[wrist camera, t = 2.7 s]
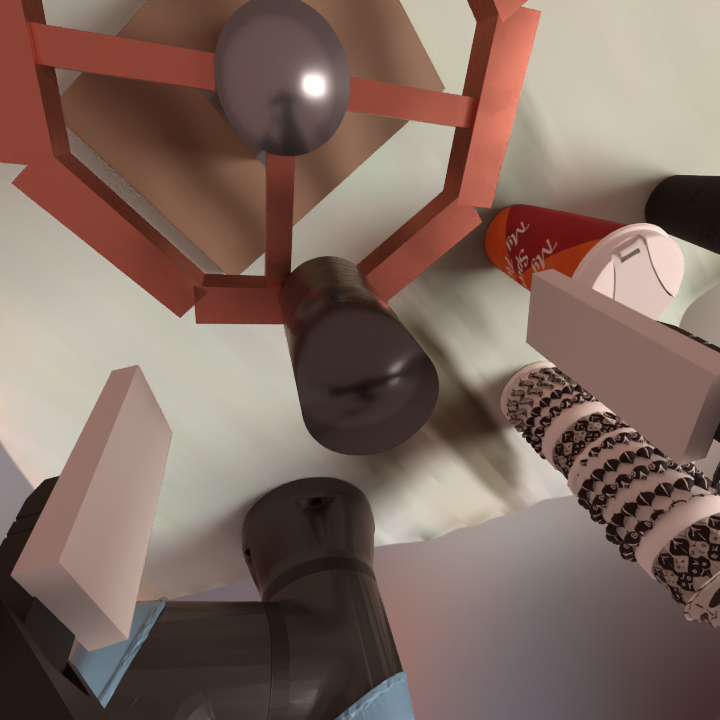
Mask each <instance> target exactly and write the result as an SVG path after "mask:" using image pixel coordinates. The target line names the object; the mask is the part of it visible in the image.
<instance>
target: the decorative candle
mask: <svg viewBox="0 0 720 720" xmlns="http://www.w3.org/2000/svg"><path fill="white" fill-rule="evenodd" d="M500 404H501V411H502V412H503V414H504V415H505V416H506V418H507V419H508V420H509V422H510V423H514V424H515V428H516V429H517V431H518V432H524V433H523V434H522V437H523V438H526V441H527V442H528V443H530V444H531V446H532V448H534V449H535V451H536V453H538V454H540V457H541V458H542V459H547V460H548V462H549V463H550V464H551V465H552V466H553V467H554V468H555V469H556V470H559V471H560V472H561V473H562V474H563V475H564V477H565V478H566V479H567V480H568V487H569V488H570V490H571V491H572V493H573V494H574V495H575V496H576V497H578V498H579V500H578V503H579V504H580V505H581V506H583V507H584V508H585V509H587V510H589V512H590V514H591V519H592V520H593V521H594V522H598V523H599V524H608V526H607V527H606V533H607V534H606V538H607V540H609V541H610V542H612V543H614V544H616V545H620V544H621V545H620V547H619V550H620V552H621V556H622V558H623V559H625V560H629V561H632V562H638V563H639V564H640V565H641V566H642V567H643V568H644V570H645V571H646V572H647V573H648V574H649V575H650V576H651V578H652V579H655V580H657V581H658V582H660V583H661V584H662V585H663V586H664V587H665V589H666V591H667V592H668V593H669V594H670V595H671V596H672V597H673V598H674V599H675V601H677V602H678V603H679V604H680V605H681V606H682V607H683V609H684V615H685V617H686V619H687V620H690V621H696V622H698V621H703V622H705V623H707V624H709V625H711V626H713V627H716V628H719V629H720V482H718V483H716V482H713V481H711V480H710V479H708V478H706V477H704V474H703V472H702V471H700V470H698V469H696V467H695V465H694V464H692V463H687V464H684V465H681V466H679V465H677V464H676V463H675V462H674V461H672V460H670V459H669V458H668V457H667V456H666V455H665V454H664V453H663V452H661V451H660V450H659V449H658V448H656V447H655V446H654V445H653V444H651V443H650V442H649V441H648V440H646V439H645V438H644V437H643V436H642V435H640V434H639V433H638V432H637V431H635V430H634V429H633V428H632V427H630V426H629V425H628V424H627V423H625V422H624V421H623V420H622V419H620V418H619V417H618V416H617V415H616V414H614V413H613V412H612V411H611V410H609V409H608V408H607V407H606V406H604V405H603V404H602V403H601V402H599V401H598V400H597V399H596V398H595V397H593V396H592V395H591V394H590V393H588V392H587V391H586V390H585V389H583V388H582V387H581V386H580V385H578V384H577V383H576V382H575V381H574V380H572V379H571V378H570V377H569V376H567V375H566V374H565V373H564V372H562V371H561V370H560V369H559V368H557V367H556V366H555V365H554V364H553V363H551V362H550V361H538V362H536V363H533V364H530V365H527V366H525V367H524V368H523V369H521V370H520V371H518V372H517V373H516V374H514V375H513V377H512V378H511V379H510V380H509V382H508V383H507V384H506V385H505V387H504V390H503V392H502V395H501V398H500ZM689 474H690V475H691V476H692V477H693V478H694V479H693V478H692V477H691V476H690V475H689ZM710 487H711V488H712V489H714V490H715V493H713V494H712V493H711V492H710V491H708V489H709V488H710Z"/></svg>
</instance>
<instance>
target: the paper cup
mask: <svg viewBox="0 0 720 720" xmlns="http://www.w3.org/2000/svg"><path fill="white" fill-rule="evenodd" d="M484 248H485V252H486V255H487V257H488V258H489V259H490V261H491V262H492V263H493V264H494V265H496V266H497V267H498V268H499V269H501V270H502V271H503V272H504V273H506V274H507V275H508V276H510V277H511V278H512V279H514V280H515V281H516V282H518V283H519V284H520V285H522V286H523V287H525V288H526V289H527V290H529V291H530V292H531V283H532V273H536V272H540V271H545V270H549V269H554V270H556V271H558V272H560V273H562V274H564V275H566V276H568V277H570V278H572V279H574V280H576V281H578V282H580V283H582V284H584V285H586V286H588V287H590V288H592V289H594V290H596V291H598V292H600V293H602V294H604V295H606V296H608V297H610V298H612V299H613V300H615V301H617V302H619V303H621V304H623V305H625V306H627V307H629V308H631V309H633V310H635V311H637V312H639V313H641V314H643V315H645V316H647V317H649V318H651V319H653V320H656V319H657V318H658V317H659V316H660V315H661V314H662V313H663V312H664V310H665V309H666V308H667V307H668V305H669V304H670V303H671V301H672V300H673V299H674V297H675V296H676V294H677V292H678V289H679V287H680V285H681V281H682V278H683V273H684V258H683V254H682V252H681V250H680V248H679V246H678V245H677V244H676V243H675V242H674V241H673V240H672V239H670V237H669V236H668V234H667V233H666V232H665V231H664V230H663V229H661V228H660V227H658V226H656V225H652V224H648V223H637V224H631V225H626V224H621V223H616V222H611V221H606V220H601V219H596V218H592V217H587V216H582V215H577V214H572V213H567V212H562V211H557V210H552V209H547V208H542V207H536V206H530V205H522V204H520V205H512V206H509V207H507V208H505V209H504V210H502V211H501V212H499V213H498V214H497V215H496V216H495V217H494V219H493V220H492V221H491V223H490V224H489V226H488V228H487V231H486V234H485V239H484ZM671 296H672V297H671Z"/></svg>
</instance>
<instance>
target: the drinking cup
mask: <svg viewBox="0 0 720 720" xmlns="http://www.w3.org/2000/svg"><path fill="white" fill-rule="evenodd" d="M645 217H646V221H647V223H648V224H652V225H656V226H658V227H660V228H661V229H663V230H664V231H665V232H666V233H667V234H670V235H672V236H675V237H677V238H680V239H682V240H685V241H687V242H690V243H692V244H695V245H697V246H700V247H702V248H705V249H707V250H710V251H712V252H715V253H717V254H720V176H696V175H675V176H672V177H669V178H667V179H666V180H664V181H663V182H662V183H660V184H659V185H658V186H657V187H656V189H655V190H654V191H653V193H652V194H651V196H650V198H649V200H648V203H647V206H646V211H645Z"/></svg>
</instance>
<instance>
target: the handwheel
mask: <svg viewBox="0 0 720 720" xmlns="http://www.w3.org/2000/svg"><path fill="white" fill-rule="evenodd" d="M467 1H468V3H469V6H470V8H471V10H472V12H473V15H474V17H475V19H476V21H477V24H476V29H475V34H474V39H473V44H472V49H471V54H470V59H469V64H468V69H467V74H466V79H465V84H464V89H463V94H462V96H461V95H455V94H449V93H443V92H437V91H431V90H426V89H420V88H414V87H408V86H402V85H396V84H390V83H385V82H379V81H373V80H367V79H361V78H355V77H350V73H349V67H348V62H347V58H346V55H345V51H344V49H343V47H342V44H341V42H340V40H339V38H338V36H337V34H336V32H335V31H334V30H333V28H332V27H331V25H330V24H329V23H328V22H327V20H326V19H325V18H324V17H323V16H322V15H321V14H320V13H319V12H317V11H316V10H315V9H314V8H312V7H311V6H309V5H308V4H306V3H304V2H302V0H250V1H248V2H247V3H245V4H244V5H242V6H241V7H240V8H238V9H237V10H236V11H235V12H234V13H233V14H232V16H231V17H230V18H229V19H228V21H227V22H226V24H225V26H224V27H223V29H222V31H221V34H220V36H219V38H218V42H217V46H216V50H215V54H214V53H209V52H203V51H197V50H191V49H185V48H180V47H174V46H168V45H162V44H156V43H150V42H144V41H139V40H133V39H127V38H121V37H115V36H109V35H103V34H98V33H92V32H86V31H80V30H74V29H68V28H62V27H57V26H51V25H46V20H45V15H44V10H43V5H42V0H0V162H2V163H13V164H24V165H28V166H27V167H26V168H25V169H24V170H23V171H22V172H21V173H20V174H19V175H18V176H17V177H16V178H15V180H14V181H13V182H12V184H13V185H15V186H16V187H17V188H18V189H20V190H21V191H22V192H23V193H25V194H26V195H27V196H28V197H30V198H31V199H32V200H33V201H35V202H36V203H37V204H38V205H40V206H41V207H42V208H43V209H45V210H46V211H47V212H48V213H50V214H51V215H52V216H53V217H55V218H56V219H57V220H58V221H60V222H61V223H62V224H63V225H65V226H66V227H67V228H68V229H70V230H71V231H72V232H73V233H75V234H76V235H77V236H78V237H80V238H81V239H82V240H83V241H85V242H86V243H87V244H88V245H90V246H91V247H92V248H93V249H95V250H96V251H97V252H98V253H100V254H101V255H102V256H103V257H105V258H106V259H107V260H108V261H110V262H111V263H112V264H113V265H115V266H116V267H117V268H118V269H120V270H121V271H122V272H123V273H125V274H126V275H127V276H128V277H130V278H131V279H132V280H133V281H135V282H136V283H137V284H138V285H140V286H141V287H142V288H143V289H145V290H146V291H147V292H148V293H150V294H151V295H152V296H153V297H155V298H156V299H157V300H158V301H160V302H161V303H162V304H163V305H165V306H166V307H167V308H168V309H170V310H171V311H172V312H173V313H175V314H176V315H177V316H178V317H180V318H181V317H182V316H183V315H184V314H185V313H186V312H187V311H188V310H189V309H190V308H192V307H193V306H194V305H195V316H196V324H284V328H285V333H286V338H287V343H288V347H289V352H290V357H291V362H292V367H293V372H294V376H295V381H296V386H297V391H298V396H299V401H300V406H301V410H302V415H303V420H304V423H305V425H306V428H307V429H308V431H309V433H310V434H311V435H312V437H313V438H314V439H315V440H316V441H317V442H319V443H320V444H321V445H323V446H324V447H326V448H328V449H330V450H332V451H335V452H338V453H341V454H346V455H369V454H375V453H379V452H383V451H386V450H389V449H391V448H393V447H395V446H397V445H399V444H401V443H403V442H404V441H406V440H407V439H409V438H410V437H411V436H412V435H414V434H415V433H416V432H417V431H418V430H419V429H420V428H421V427H422V426H423V425H424V423H425V422H426V421H427V419H428V418H429V416H430V415H431V413H432V411H433V409H434V407H435V404H436V401H437V397H438V391H439V382H438V375H437V372H436V369H435V367H434V365H433V363H432V361H431V360H430V359H429V357H428V356H427V355H426V353H425V352H424V351H423V349H422V348H421V347H420V345H419V344H418V343H417V342H416V340H415V339H414V338H413V336H412V335H411V334H410V333H409V331H408V330H407V329H406V327H405V326H404V325H403V324H402V322H401V321H400V320H399V318H398V317H397V316H396V315H395V313H394V312H393V311H392V309H391V308H390V307H389V306H388V304H387V303H386V302H387V301H388V300H389V299H391V298H392V297H393V296H394V295H395V294H397V293H398V292H399V291H400V290H401V289H403V288H404V287H405V286H406V285H407V284H409V283H410V282H411V281H412V280H413V279H415V278H416V277H417V276H418V275H419V274H421V273H422V272H423V271H424V270H425V269H427V268H428V267H429V266H430V265H431V264H432V263H434V262H435V261H436V260H437V259H438V258H440V257H441V256H442V255H443V254H444V253H446V252H447V251H448V250H449V249H450V248H452V247H453V246H454V245H455V244H456V243H458V242H459V241H460V240H461V239H462V238H464V237H465V236H466V235H467V234H468V233H470V232H471V231H472V230H473V229H474V228H476V227H477V226H478V225H479V224H480V223H482V220H481V219H480V217H479V215H478V213H477V212H476V210H475V208H474V207H485V208H491V206H492V202H493V198H494V194H495V190H496V186H497V183H498V179H499V175H500V171H501V167H502V163H503V159H504V155H505V151H506V147H507V143H508V140H509V136H510V132H511V128H512V124H513V120H514V116H515V112H516V108H517V104H518V100H519V97H520V93H521V89H522V85H523V81H524V77H525V73H526V69H527V65H528V61H529V58H530V54H531V50H532V46H533V42H534V38H535V34H536V30H537V26H538V22H539V18H540V15H541V11H537V10H533V9H529V8H525V7H521V6H522V5H523V4H524V3H525V2H526V1H527V0H467ZM55 68H60V69H66V70H73V71H80V72H87V73H93V74H100V75H107V76H114V77H120V78H127V79H134V80H141V81H147V82H154V83H161V84H168V85H175V86H181V87H188V88H195V89H202V90H208V91H215V92H217V93H218V96H219V100H220V103H221V105H222V107H223V109H224V111H225V113H226V115H227V117H228V119H229V120H230V122H231V123H232V124H233V126H234V127H235V128H236V130H237V131H238V132H239V133H240V134H241V135H242V136H243V137H244V138H245V139H246V140H248V141H249V142H250V143H251V144H253V145H254V146H256V147H257V148H259V149H261V150H263V151H265V152H266V201H265V276H250V275H223V274H204V273H203V272H202V271H201V270H200V269H199V268H198V267H197V266H196V265H194V264H193V263H192V262H191V261H190V260H189V259H188V258H187V257H186V256H184V255H183V254H182V253H181V252H180V251H179V250H178V249H177V248H176V247H175V246H173V245H172V244H171V243H170V242H169V241H168V240H167V239H166V238H165V237H163V236H162V235H161V234H160V233H159V232H158V231H157V230H156V229H155V228H153V227H152V226H151V225H150V224H149V223H148V222H147V221H146V220H145V219H143V218H142V217H141V216H140V215H139V214H138V213H137V212H136V211H135V210H133V209H132V208H131V207H130V206H129V205H128V204H127V203H126V202H125V201H123V200H122V199H121V198H120V197H119V196H118V195H117V194H116V193H115V192H113V191H112V190H111V189H110V188H109V187H108V186H107V185H106V184H105V183H104V182H102V181H101V180H100V179H99V178H98V177H97V176H96V175H95V174H94V173H92V172H91V171H90V170H89V169H88V168H87V167H86V166H85V165H84V164H82V163H81V162H80V161H79V160H78V159H77V158H76V157H75V156H74V155H72V154H71V152H70V147H69V142H68V136H67V131H66V126H65V121H64V115H63V110H62V105H61V99H60V94H59V89H58V84H57V78H56V73H55ZM346 111H350V112H357V113H364V114H371V115H377V116H384V117H391V118H398V119H404V120H411V121H418V122H425V123H431V124H438V125H445V126H452V127H456V129H455V134H454V139H453V144H452V149H451V154H450V159H449V164H448V169H447V174H446V179H445V184H444V189H443V191H442V192H441V193H440V194H439V195H438V196H437V197H435V198H434V199H433V200H432V201H431V202H430V203H428V204H427V205H426V206H425V207H424V208H423V209H422V210H420V211H419V212H418V213H417V214H416V215H415V216H413V217H412V218H411V219H410V220H409V221H408V222H406V223H405V224H404V225H403V226H402V227H401V228H400V229H398V230H397V231H396V232H395V233H394V234H393V235H391V236H390V237H389V238H388V239H387V240H386V241H384V242H383V243H382V244H381V245H380V246H379V247H378V248H376V249H375V250H374V251H373V252H372V253H371V254H369V255H368V256H367V257H366V258H365V259H364V260H362V261H361V262H360V263H359V264H358V265H357V266H356V265H354V264H353V263H351V262H349V261H347V260H345V259H342V258H338V257H332V256H324V257H318V258H314V259H311V260H309V261H306V262H305V263H303V264H301V265H300V266H298V267H297V268H296V269H295V270H294V271H293V272H292V273H291V251H292V227H293V202H294V178H295V156H300V155H304V154H307V153H310V152H312V151H314V150H316V149H318V148H319V147H321V146H322V145H323V144H325V143H326V142H327V141H328V140H329V139H330V138H331V137H332V136H333V135H334V133H335V132H336V131H337V129H338V128H339V126H340V124H341V122H342V120H343V118H344V115H345V113H346Z"/></svg>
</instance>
